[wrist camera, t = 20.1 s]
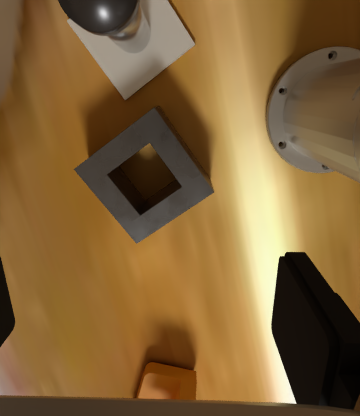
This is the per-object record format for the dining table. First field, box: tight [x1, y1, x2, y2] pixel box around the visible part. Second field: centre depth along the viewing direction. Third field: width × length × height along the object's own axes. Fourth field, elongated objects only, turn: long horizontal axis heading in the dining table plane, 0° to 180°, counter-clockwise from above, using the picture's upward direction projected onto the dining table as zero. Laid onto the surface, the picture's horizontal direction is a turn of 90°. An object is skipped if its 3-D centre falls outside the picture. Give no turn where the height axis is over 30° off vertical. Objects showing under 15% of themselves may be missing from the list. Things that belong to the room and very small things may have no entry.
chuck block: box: [74, 106, 214, 244], centre depth 33 cm, size 10×10×5 cm
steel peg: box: [58, 0, 151, 54], centre depth 24 cm, size 5×5×13 cm
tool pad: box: [67, 0, 195, 100], centre depth 31 cm, size 9×9×1 cm
